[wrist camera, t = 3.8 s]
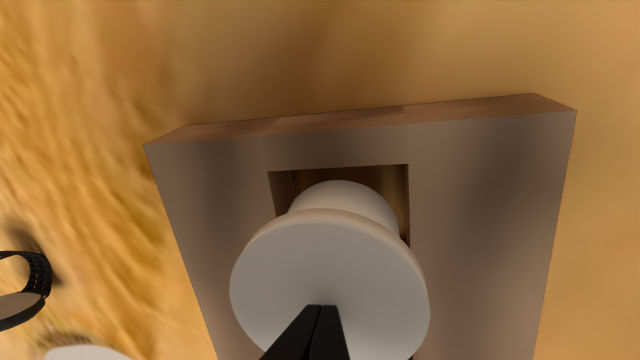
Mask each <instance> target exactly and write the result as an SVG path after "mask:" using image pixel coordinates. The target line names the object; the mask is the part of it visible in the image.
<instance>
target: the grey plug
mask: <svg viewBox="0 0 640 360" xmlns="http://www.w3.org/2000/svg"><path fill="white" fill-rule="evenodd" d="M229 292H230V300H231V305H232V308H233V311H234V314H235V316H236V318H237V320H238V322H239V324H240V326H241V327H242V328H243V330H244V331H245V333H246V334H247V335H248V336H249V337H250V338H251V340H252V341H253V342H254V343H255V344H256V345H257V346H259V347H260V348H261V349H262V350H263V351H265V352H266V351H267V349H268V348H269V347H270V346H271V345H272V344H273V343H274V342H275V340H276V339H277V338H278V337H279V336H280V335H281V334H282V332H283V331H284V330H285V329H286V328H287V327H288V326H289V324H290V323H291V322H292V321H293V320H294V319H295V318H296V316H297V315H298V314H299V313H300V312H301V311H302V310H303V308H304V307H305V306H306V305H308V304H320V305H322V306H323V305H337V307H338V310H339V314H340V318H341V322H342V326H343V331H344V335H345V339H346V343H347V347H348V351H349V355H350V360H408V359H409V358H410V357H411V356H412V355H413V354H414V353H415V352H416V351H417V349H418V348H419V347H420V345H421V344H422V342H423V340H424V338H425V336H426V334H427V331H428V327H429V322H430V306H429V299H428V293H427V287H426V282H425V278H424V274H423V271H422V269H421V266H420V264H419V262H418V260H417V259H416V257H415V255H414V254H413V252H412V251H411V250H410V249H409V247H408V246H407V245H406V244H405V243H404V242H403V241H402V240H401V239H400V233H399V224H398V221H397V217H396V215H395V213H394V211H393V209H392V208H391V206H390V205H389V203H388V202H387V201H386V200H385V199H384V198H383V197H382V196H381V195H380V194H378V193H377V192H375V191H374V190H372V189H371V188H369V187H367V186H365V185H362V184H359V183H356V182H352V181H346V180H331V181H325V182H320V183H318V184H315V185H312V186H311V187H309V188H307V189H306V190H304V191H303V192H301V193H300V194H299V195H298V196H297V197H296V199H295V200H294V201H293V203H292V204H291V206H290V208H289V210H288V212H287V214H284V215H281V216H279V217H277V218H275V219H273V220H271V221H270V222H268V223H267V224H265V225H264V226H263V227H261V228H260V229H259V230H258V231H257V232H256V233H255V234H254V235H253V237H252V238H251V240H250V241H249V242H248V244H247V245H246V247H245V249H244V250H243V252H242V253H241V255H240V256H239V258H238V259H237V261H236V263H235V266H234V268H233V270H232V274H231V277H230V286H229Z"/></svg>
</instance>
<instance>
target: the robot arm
mask: <svg viewBox="0 0 640 360" xmlns="http://www.w3.org/2000/svg"><path fill="white" fill-rule="evenodd" d="M259 360H350V355H349V351H348V347H347V343H346V339H345V335H344V331H343V326H342V322H341V318H340V314H339V310H338V307H337V305H323V306H322V305H320V304H308V305H306V306H305V307H304V308H303V310H302V311H301V312H300V313H299V314H298V315H297V316H296V318H295V319H294V320H293V321H292V322H291V323H290V324H289V326H288V327H287V328H286V329H285V330H284V331H283V332H282V334H281V335H280V336H279V337H278V338H277V339H276V340H275V342H274V343H273V344H272V345H271V346H270V347H269V348H268V349H267V351H266V352H265V353H264V354H263V355H262V356H261V357H260V359H259Z"/></svg>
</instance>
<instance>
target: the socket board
mask: <svg viewBox="0 0 640 360" xmlns="http://www.w3.org/2000/svg"><path fill="white" fill-rule="evenodd" d="M576 113H577V110H575V109H573V108H570V107H567V106H565V105H562V104H560V103H557V102H555V101H552V100H550V99H547V98H545V97H542V96H540V95H537V94H524V95H514V96H503V97H492V98H481V99H470V100H459V101H448V102H438V103H427V104H416V105H405V106H394V107H383V108H372V109H362V110H351V111H340V112H329V113H318V114H307V115H296V116H286V117H275V118H264V119H253V120H242V121H231V122H220V123H210V124H199V125H188V126H183V127H181V128H179V129H176V130H174V131H172V132H170V133H168V134H166V135H164V136H161V137H159V138H157V139H155V140H153V141H151V142H149V143H147V144H144V145H143V148H144V150H145V153H146V156H147V159H148V162H149V165H150V167H151V170H152V173H153V176H154V179H155V182H156V184H157V187H158V190H159V193H160V196H161V199H162V201H163V204H164V207H165V210H166V213H167V216H168V218H169V221H170V224H171V227H172V230H173V233H174V235H175V238H176V241H177V244H178V247H179V250H180V252H181V255H182V258H183V261H184V264H185V267H186V269H187V272H188V275H189V278H190V281H191V284H192V287H193V289H194V292H195V295H196V298H197V301H198V304H199V306H200V309H201V312H202V315H203V318H204V321H205V323H206V326H207V329H208V332H209V335H210V338H211V340H212V343H213V346H214V349H215V352H216V355H217V357H218V360H259V359H260V357H261V356H262V355H263V354H264V353H265V351H263V350H262V349H261V348H260V347H259V346H257V345H256V344H255V343H254V342H253V341H252V340H251V338H250V337H249V336H248V335H247V334H246V333H245V331H244V330H243V328H242V327H241V326H240V324H239V322H238V320H237V318H236V316H235V314H234V311H233V308H232V305H231V300H230V292H229V286H230V277H231V274H232V270H233V268H234V266H235V263H236V261H237V259H238V258H239V256H240V255H241V253H242V252H243V250H244V249H245V247H246V245H247V244H248V242H249V241H250V240H251V238H252V237H253V235H254V234H255V233H256V232H257V231H258V230H259V229H260V228H261V227H263V226H264V225H265V224H267V223H268V222H270V221H271V220H273V219H275V218H277V217H279V216H281V215H284V214H287V212H288V210H289V208H290V206H291V204H292V203H293V201H294V200H295V199H296V193H295V187H294V182H293V176H292V170H303V169H321V168H339V167H356V166H374V165H392V164H404V175H405V209H406V241H403V242H404V243H405V244H406V245H407V246H408V247H409V249H410V250H411V251H412V252H413V254H414V255H415V257H416V259H417V260H418V262H419V264H420V266H421V269H422V271H423V274H424V278H425V282H426V287H427V293H428V299H429V306H430V322H429V327H428V331H427V334H426V336H425V338H424V340H423V342H422V344H421V345H420V347H419V348H418V349H417V351H416V352H415V353H414V354H413V355H412V356H411V357H410V358H409V359H408V360H533V355H534V349H535V343H536V338H537V332H538V327H539V321H540V315H541V310H542V304H543V299H544V293H545V287H546V282H547V276H548V270H549V265H550V259H551V254H552V248H553V242H554V237H555V231H556V226H557V220H558V214H559V209H560V203H561V198H562V192H563V186H564V181H565V175H566V170H567V164H568V158H569V153H570V147H571V141H572V136H573V130H574V125H575V119H576Z"/></svg>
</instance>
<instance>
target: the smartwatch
mask: <svg viewBox="0 0 640 360" xmlns="http://www.w3.org/2000/svg"><path fill="white" fill-rule="evenodd" d="M13 255H20V256H22V257H24V258H25V259H26V260H27V261H28V263H29V266H30V277H29V280H28V282H27V285H26V286H25V288H24V289H23V290H22V291H21V292H16V293H12V294H8V295H4V296H1V297H0V332H1V331H4V330H7V329H10V328H12V327H15V326H17V325H20V324H22V323H24V322H26V321H28V320H30V319H31V318H33V317H34V316H35V315H36V314H37V313H38V312H39V311H40V310H41V309H42V308H43V306H44V305H45V299H46V298H47V297H48V296H49V295H50V292H51V283H52V278H51V269H50V265H49V262H48V260H47V259H46V257H45V256H43V255H41V254H39V253H34V252H25V251H0V260H1V259H4V258H7V257H10V256H13ZM32 260H35V261H32ZM34 264H36V265H37V266H34ZM42 265H45V266H42ZM35 269H38V271H35ZM42 269H43V270H46V272H45V271H43V270H42ZM36 274H38V277H35V275H36ZM43 275H45V276H46V277H43ZM35 280H37V282H36V283H35ZM43 282H44V283H43ZM34 286H35V288H34Z"/></svg>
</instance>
